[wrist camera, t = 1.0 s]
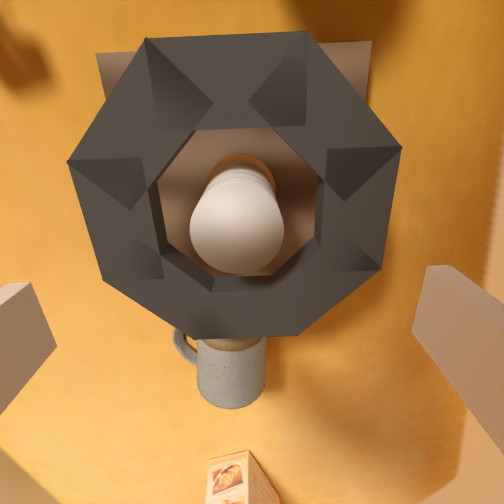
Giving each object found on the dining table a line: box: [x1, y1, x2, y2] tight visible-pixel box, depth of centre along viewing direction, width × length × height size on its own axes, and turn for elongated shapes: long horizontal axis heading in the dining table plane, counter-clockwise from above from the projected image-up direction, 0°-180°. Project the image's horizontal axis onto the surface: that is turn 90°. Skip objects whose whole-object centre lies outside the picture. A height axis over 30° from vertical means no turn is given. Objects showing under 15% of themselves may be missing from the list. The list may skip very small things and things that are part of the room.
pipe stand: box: [95, 41, 372, 277], centre depth 21 cm, size 20×20×13 cm
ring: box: [67, 30, 402, 340], centre depth 18 cm, size 18×18×2 cm
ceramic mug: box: [173, 328, 267, 409], centre depth 32 cm, size 11×8×8 cm
